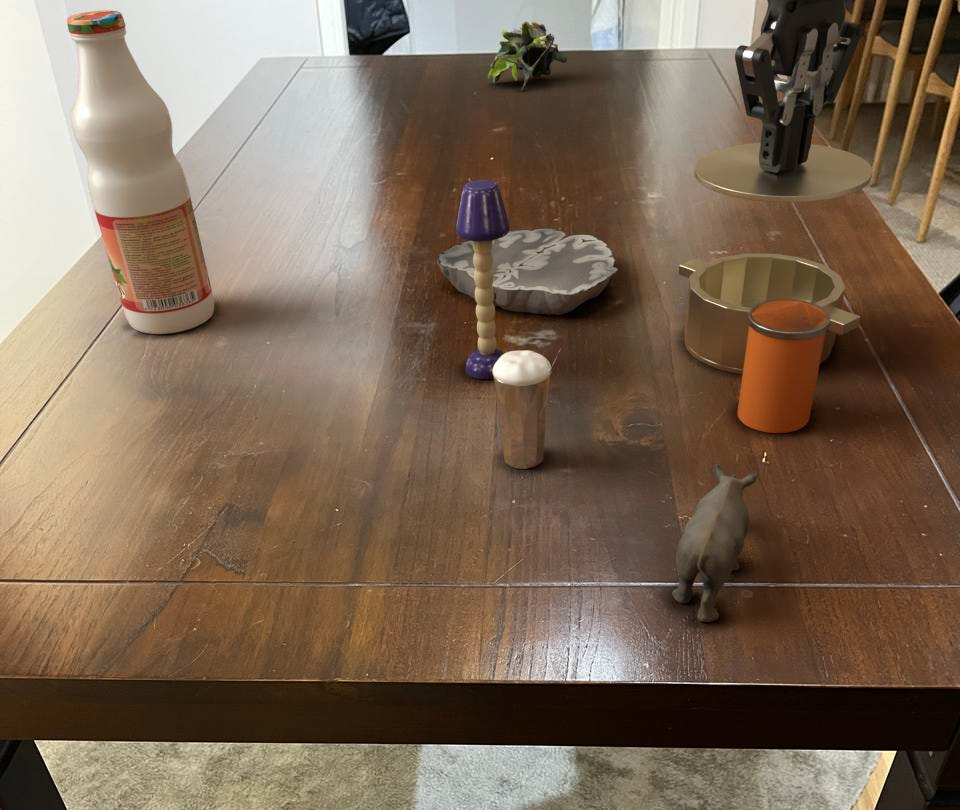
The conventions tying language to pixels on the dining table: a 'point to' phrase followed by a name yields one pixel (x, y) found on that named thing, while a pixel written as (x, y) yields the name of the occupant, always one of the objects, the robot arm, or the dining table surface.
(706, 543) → the rhino figurine
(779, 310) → the small canister
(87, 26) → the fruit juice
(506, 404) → the milkshake
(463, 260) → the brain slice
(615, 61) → the dining table surface
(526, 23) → the green leafy plant
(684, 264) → the pot
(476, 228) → the toy lamp
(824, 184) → the lid
